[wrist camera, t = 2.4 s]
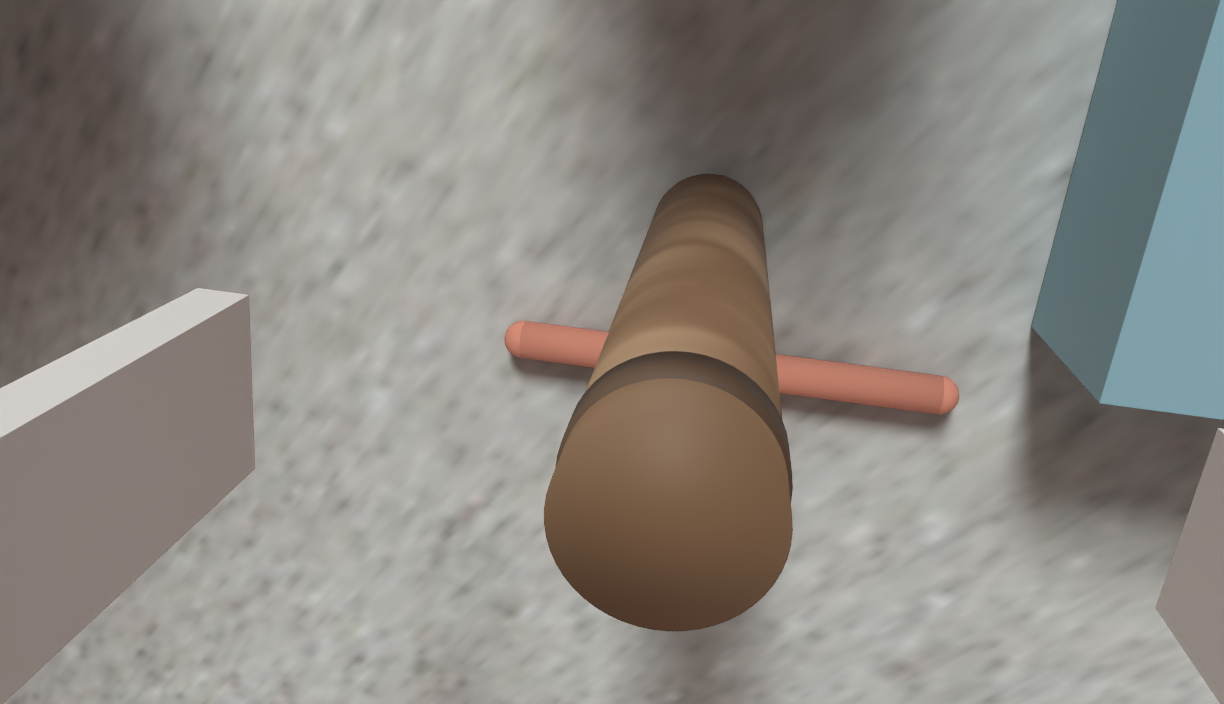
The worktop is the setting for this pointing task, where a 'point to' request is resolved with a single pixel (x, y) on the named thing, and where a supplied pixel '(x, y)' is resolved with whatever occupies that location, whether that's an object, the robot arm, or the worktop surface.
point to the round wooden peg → (680, 429)
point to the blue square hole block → (1147, 218)
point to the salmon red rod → (792, 371)
